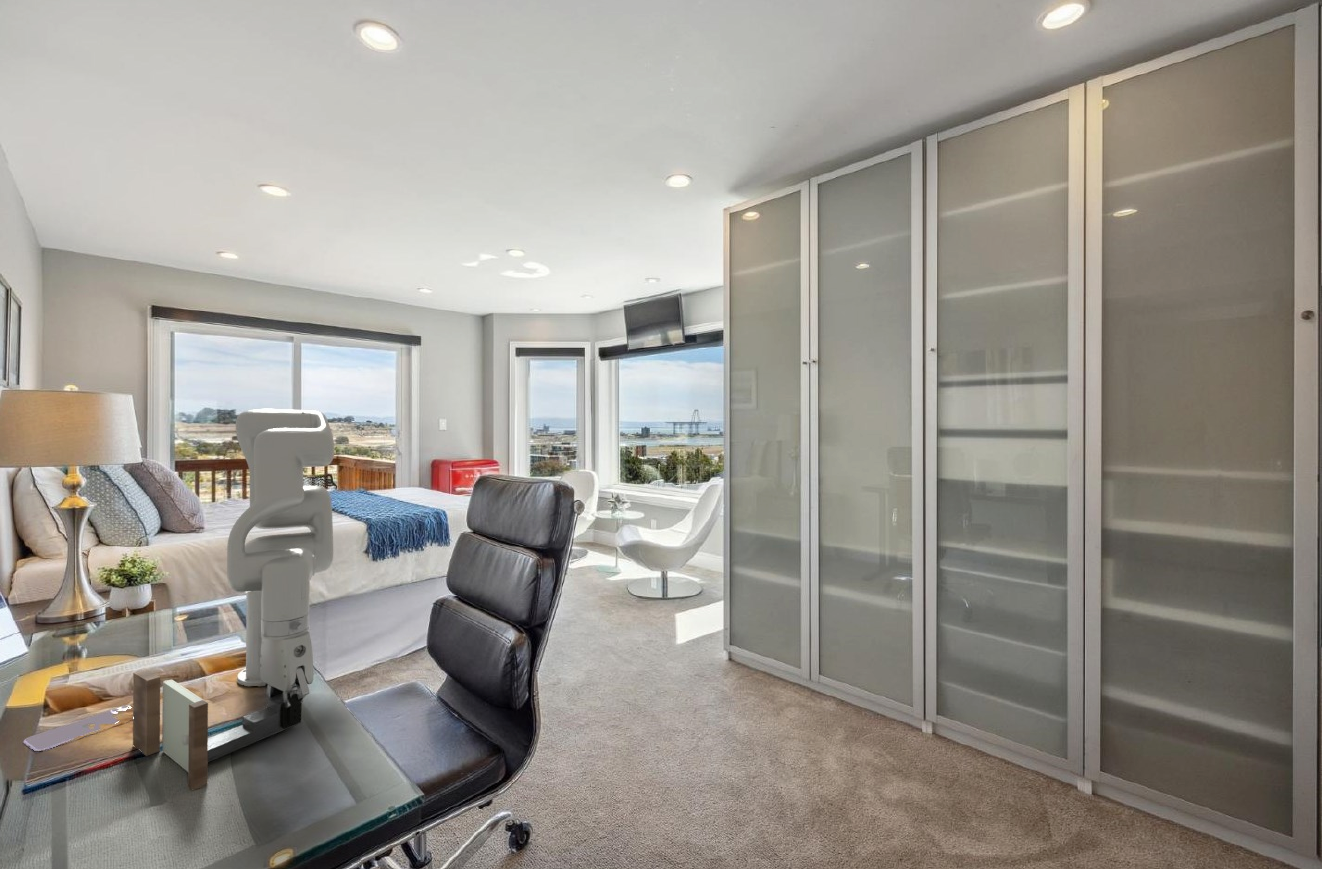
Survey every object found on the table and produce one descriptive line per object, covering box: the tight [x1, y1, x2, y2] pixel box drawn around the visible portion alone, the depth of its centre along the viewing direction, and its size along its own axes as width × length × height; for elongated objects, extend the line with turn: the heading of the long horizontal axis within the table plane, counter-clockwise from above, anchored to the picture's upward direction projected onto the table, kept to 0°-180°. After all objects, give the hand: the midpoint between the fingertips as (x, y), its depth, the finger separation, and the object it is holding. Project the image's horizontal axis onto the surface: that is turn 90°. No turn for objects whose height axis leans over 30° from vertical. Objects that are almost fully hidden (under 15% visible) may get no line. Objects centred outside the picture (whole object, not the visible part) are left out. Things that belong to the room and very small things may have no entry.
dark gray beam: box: [207, 691, 302, 763], centre depth 102 cm, size 16×4×5 cm, turn 151°
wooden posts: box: [132, 668, 209, 791], centre depth 96 cm, size 23×2×13 cm, turn 60°
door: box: [161, 679, 206, 772], centre depth 96 cm, size 15×2×12 cm, turn 58°
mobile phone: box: [23, 704, 132, 752], centre depth 107 cm, size 8×1×15 cm
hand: (284, 720), depth 108 cm, fingers closed on dark gray beam, 4 cm apart
